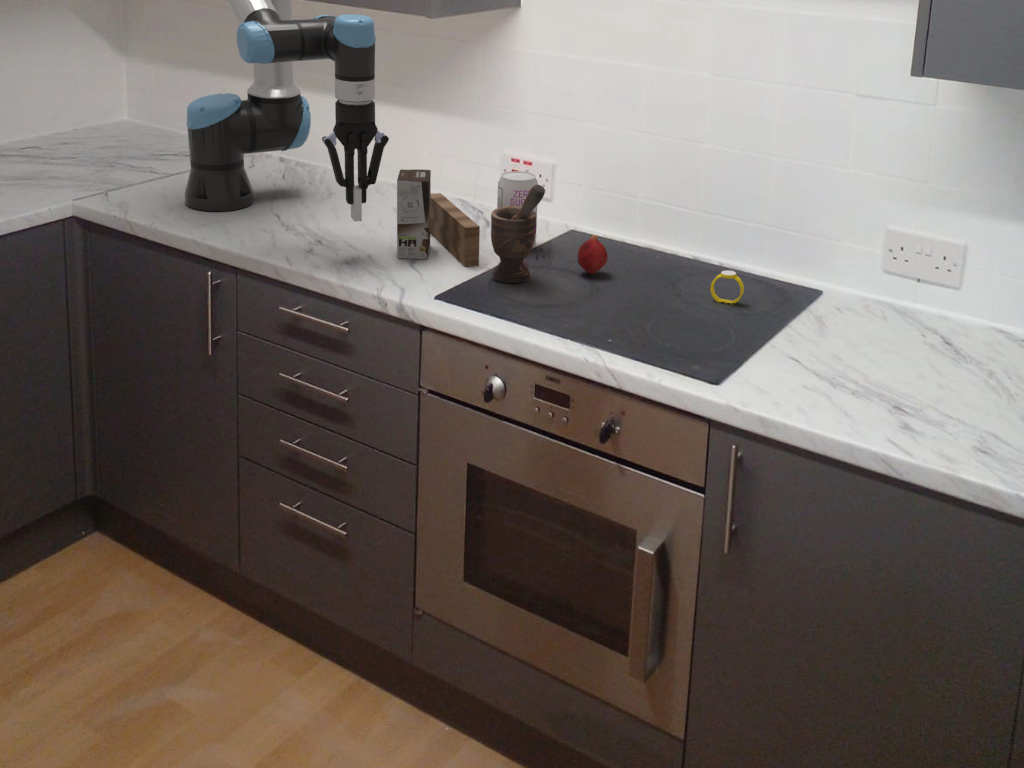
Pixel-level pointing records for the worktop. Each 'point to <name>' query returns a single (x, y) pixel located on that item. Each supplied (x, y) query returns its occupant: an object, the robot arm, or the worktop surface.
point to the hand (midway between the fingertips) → (356, 218)
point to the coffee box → (413, 214)
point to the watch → (728, 275)
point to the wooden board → (454, 230)
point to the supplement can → (515, 190)
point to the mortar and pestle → (514, 237)
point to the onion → (592, 255)
